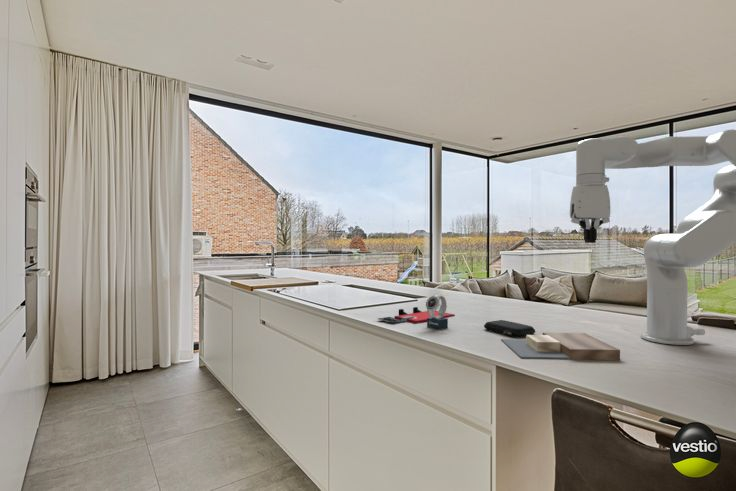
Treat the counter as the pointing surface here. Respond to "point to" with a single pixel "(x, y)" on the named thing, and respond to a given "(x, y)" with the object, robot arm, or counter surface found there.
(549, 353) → the rubber mat
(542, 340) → the birch tile
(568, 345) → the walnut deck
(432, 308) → the watch
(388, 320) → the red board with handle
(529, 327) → the carrying case or bag
